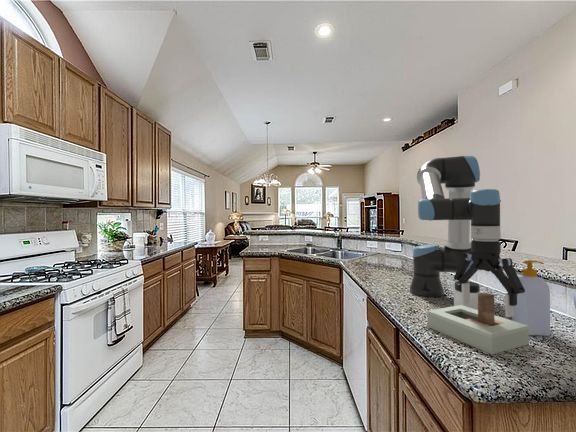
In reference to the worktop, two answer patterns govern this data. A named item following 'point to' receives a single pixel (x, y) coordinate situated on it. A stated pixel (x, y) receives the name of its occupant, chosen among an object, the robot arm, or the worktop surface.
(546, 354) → the worktop surface
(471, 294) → the jar
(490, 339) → the keyhole box
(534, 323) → the soap bottle
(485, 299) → the bolt peg
